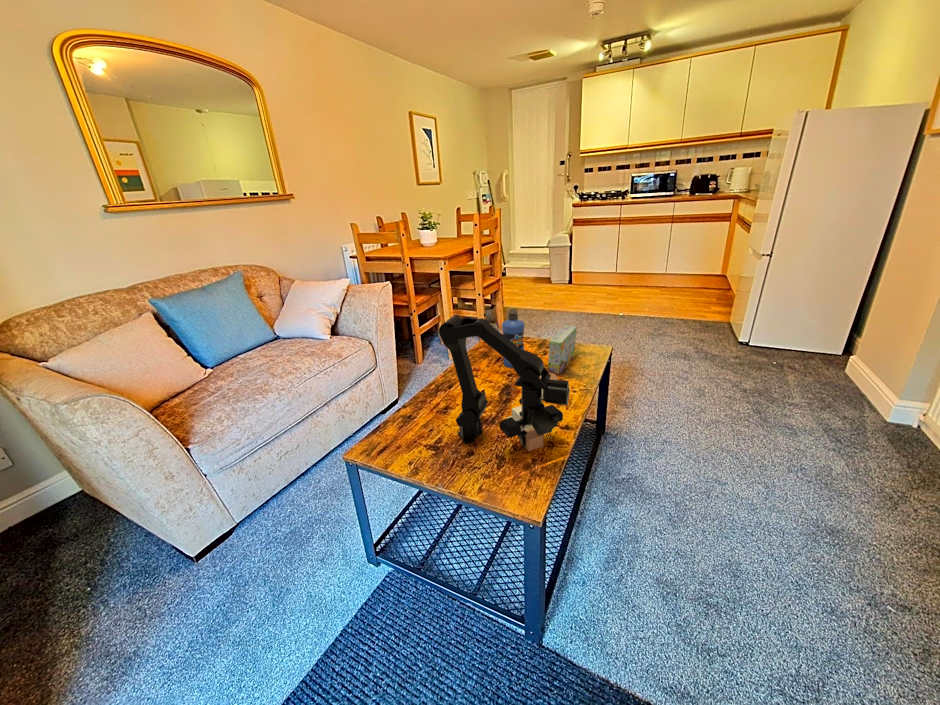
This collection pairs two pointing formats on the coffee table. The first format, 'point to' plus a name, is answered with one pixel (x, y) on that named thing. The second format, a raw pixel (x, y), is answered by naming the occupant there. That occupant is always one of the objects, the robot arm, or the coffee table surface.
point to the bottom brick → (517, 413)
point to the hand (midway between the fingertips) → (531, 444)
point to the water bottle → (513, 332)
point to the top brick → (533, 439)
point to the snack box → (562, 349)
